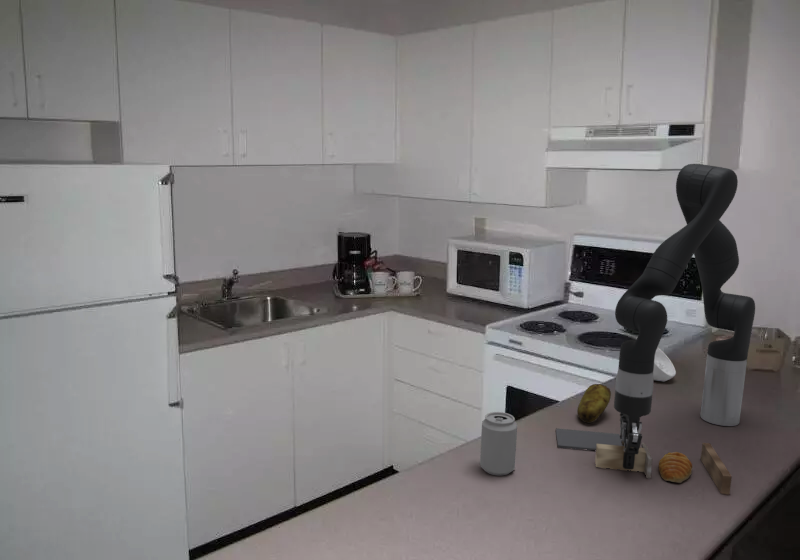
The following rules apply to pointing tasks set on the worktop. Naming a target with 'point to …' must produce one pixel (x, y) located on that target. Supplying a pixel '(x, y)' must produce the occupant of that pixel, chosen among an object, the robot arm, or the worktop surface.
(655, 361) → the skull bowl
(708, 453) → the rail
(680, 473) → the pastry
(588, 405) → the potato
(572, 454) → the worktop surface
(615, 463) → the scraper
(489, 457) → the can
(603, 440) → the mat
